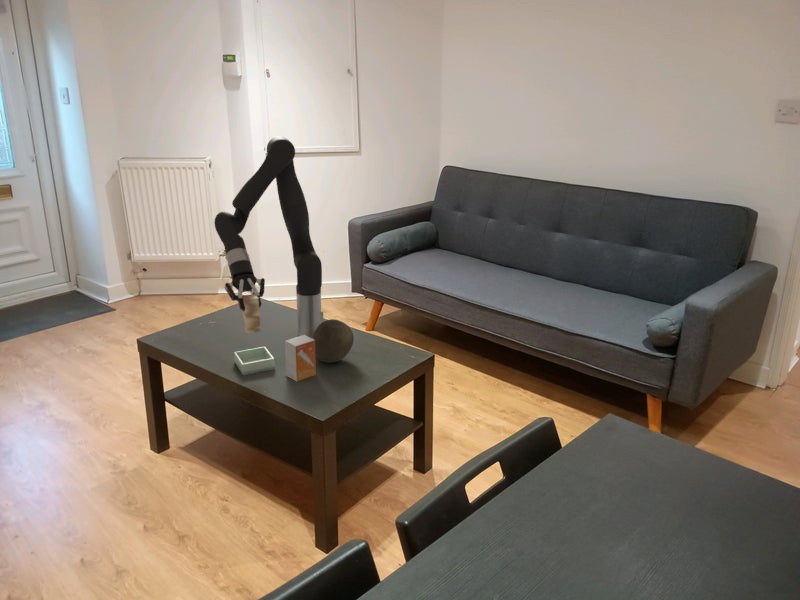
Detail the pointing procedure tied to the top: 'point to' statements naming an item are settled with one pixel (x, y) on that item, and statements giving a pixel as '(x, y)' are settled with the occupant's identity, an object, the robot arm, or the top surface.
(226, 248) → the robot arm
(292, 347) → the small box
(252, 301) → the birch block
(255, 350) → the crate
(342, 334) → the brown leather ball
